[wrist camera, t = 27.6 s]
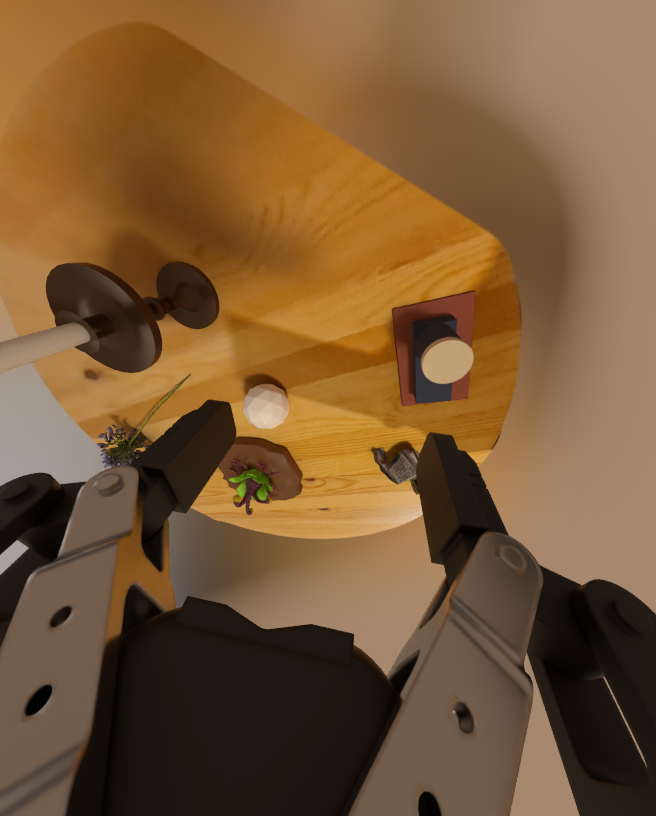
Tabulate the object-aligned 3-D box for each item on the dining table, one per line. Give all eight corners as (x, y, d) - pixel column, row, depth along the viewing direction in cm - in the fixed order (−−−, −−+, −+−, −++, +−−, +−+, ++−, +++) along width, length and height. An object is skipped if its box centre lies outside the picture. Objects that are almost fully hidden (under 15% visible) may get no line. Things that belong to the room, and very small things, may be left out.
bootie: (411, 320, 33) (422, 344, 25) (453, 313, 31) (476, 336, 24) (413, 395, 39) (421, 430, 32) (447, 392, 38) (464, 428, 31)
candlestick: (144, 249, 33) (-1143, 310, 5) (218, 260, 33) (-787, 404, 4) (166, 327, 40) (-344, 545, 11) (229, 337, 39) (-151, 598, 11)
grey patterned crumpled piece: (388, 441, 42) (442, 489, 40) (398, 423, 47) (447, 465, 46) (362, 463, 47) (410, 507, 46) (374, 444, 52) (417, 483, 51)
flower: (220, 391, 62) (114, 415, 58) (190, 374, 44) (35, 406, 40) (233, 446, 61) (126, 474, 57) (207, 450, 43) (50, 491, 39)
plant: (290, 435, 50) (271, 479, 41) (309, 494, 60) (298, 539, 51) (207, 437, 54) (173, 477, 45) (239, 491, 65) (217, 532, 56)
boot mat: (392, 308, 33) (392, 309, 32) (474, 290, 30) (475, 291, 30) (402, 404, 41) (402, 406, 41) (466, 397, 38) (467, 398, 38)
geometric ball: (285, 381, 45) (300, 394, 39) (276, 419, 47) (289, 438, 41) (244, 374, 41) (253, 388, 35) (236, 416, 44) (243, 436, 37)
